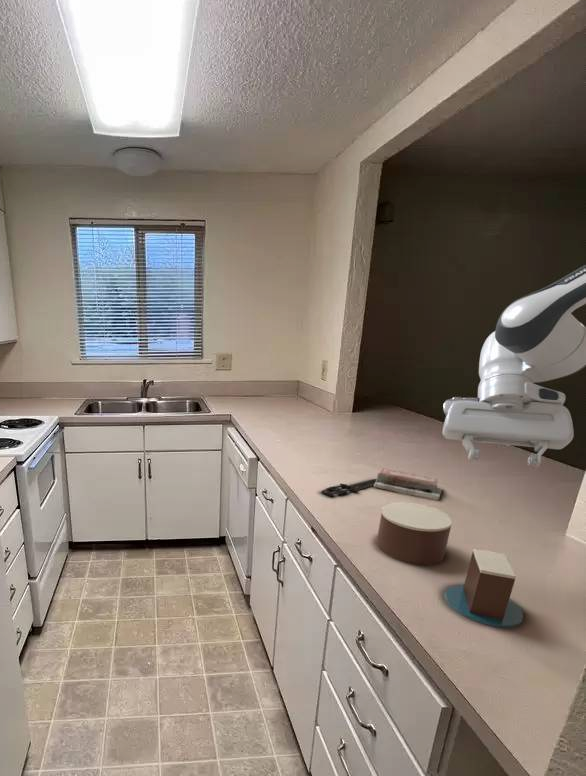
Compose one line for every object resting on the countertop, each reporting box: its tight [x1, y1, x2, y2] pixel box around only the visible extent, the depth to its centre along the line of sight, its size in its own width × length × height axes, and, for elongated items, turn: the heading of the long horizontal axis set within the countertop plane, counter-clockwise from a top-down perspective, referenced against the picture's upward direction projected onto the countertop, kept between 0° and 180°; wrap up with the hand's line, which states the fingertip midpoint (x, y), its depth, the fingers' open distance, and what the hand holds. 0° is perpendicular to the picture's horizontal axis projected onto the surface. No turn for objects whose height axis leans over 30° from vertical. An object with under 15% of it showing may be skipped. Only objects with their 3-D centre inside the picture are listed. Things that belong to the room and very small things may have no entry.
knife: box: [320, 478, 377, 498], centre depth 135 cm, size 25×6×1 cm, turn 112°
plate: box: [444, 584, 524, 628], centre depth 80 cm, size 12×12×1 cm
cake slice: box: [463, 548, 517, 620], centre depth 79 cm, size 5×8×9 cm, turn 156°
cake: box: [376, 501, 453, 566], centre depth 99 cm, size 14×14×9 cm
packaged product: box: [373, 467, 443, 501], centre depth 133 cm, size 18×5×10 cm
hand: (503, 461), depth 81 cm, fingers open, 8 cm apart
